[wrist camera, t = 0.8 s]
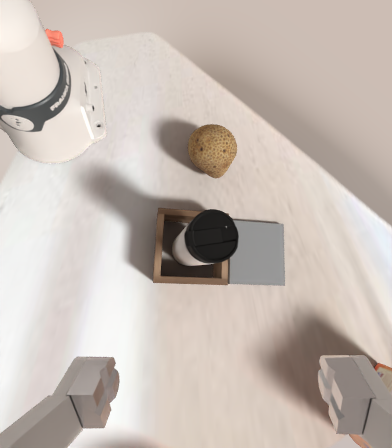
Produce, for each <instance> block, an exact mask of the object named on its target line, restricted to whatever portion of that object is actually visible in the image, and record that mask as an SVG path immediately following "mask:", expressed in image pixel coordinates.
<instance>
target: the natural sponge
mask: <svg viewBox="0 0 392 448" xmlns="http://www.w3.org/2000/svg"><path fill="white" fill-rule="evenodd" d="M188 152H189V156H190V158H191V161H192V162H193V164H194V165H195V166H196V167H197V168H199V169H200V170H202V171H203V172H205V173H206V174H207V175H209V176H211V177H213V178H220V177H221V176H223V175H224V173H225V172H226V171H227V169H228V168H229V166H230V164H231V163H232V161H233V160H234V158H235V156H236V153H237V144H236V141H235V138H234V136H233V135H232V133H231V132H230V131H229V130H227V129H226V128H225V127H223V126H220V125H214V124H210V125H204V126H201V127H200V128H198V129H196V130H195V131H194V132H193V133H192V134H191V136H190V138H189V142H188Z"/></svg>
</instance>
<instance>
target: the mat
mask: <svg viewBox="0 0 392 448" xmlns="http://www.w3.org/2000/svg"><path fill="white" fill-rule="evenodd" d="M233 221H234V223H235V226H236V227H237V230H238V235H239V239H238V240H239V241H238V248H237V250H236V252H235V253H234V254H233V256H232V257H230V258H229V262H228V284H249V285H280V286H285V267H284V226H283V224H276V223H263V222H250V221H237V220H233Z"/></svg>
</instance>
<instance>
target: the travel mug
mask: <svg viewBox="0 0 392 448" xmlns="http://www.w3.org/2000/svg"><path fill="white" fill-rule="evenodd" d="M238 239H239V235H238V230H237V227H236V226H235V223H234V221H233V219H232V218H231V217H230V216H229V215H228V214H226V213H224V212H222V211H220V210H215V209H210V210H205V211H203V212H201V213H199V214H198V215H197V216H196V217H195V218H194V219H193V220H191V222H190V223H189V224H188V225H187V226H186V227H185V228H184V229H183V231H182V232H181V233H180V234H179V235H178V236H177V237H176V239H175V240H174V242H173V244H172V254H173V256H174V258H175V260H176V261H177V262H178V263H180V264H182V265H184V266H195V265H206V264H215V263H220V262H224V261H226V260H228V259H229V258H230V257H232V256H233V254H234V253H235V252H236V250H237V248H238V241H239V240H238Z"/></svg>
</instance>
